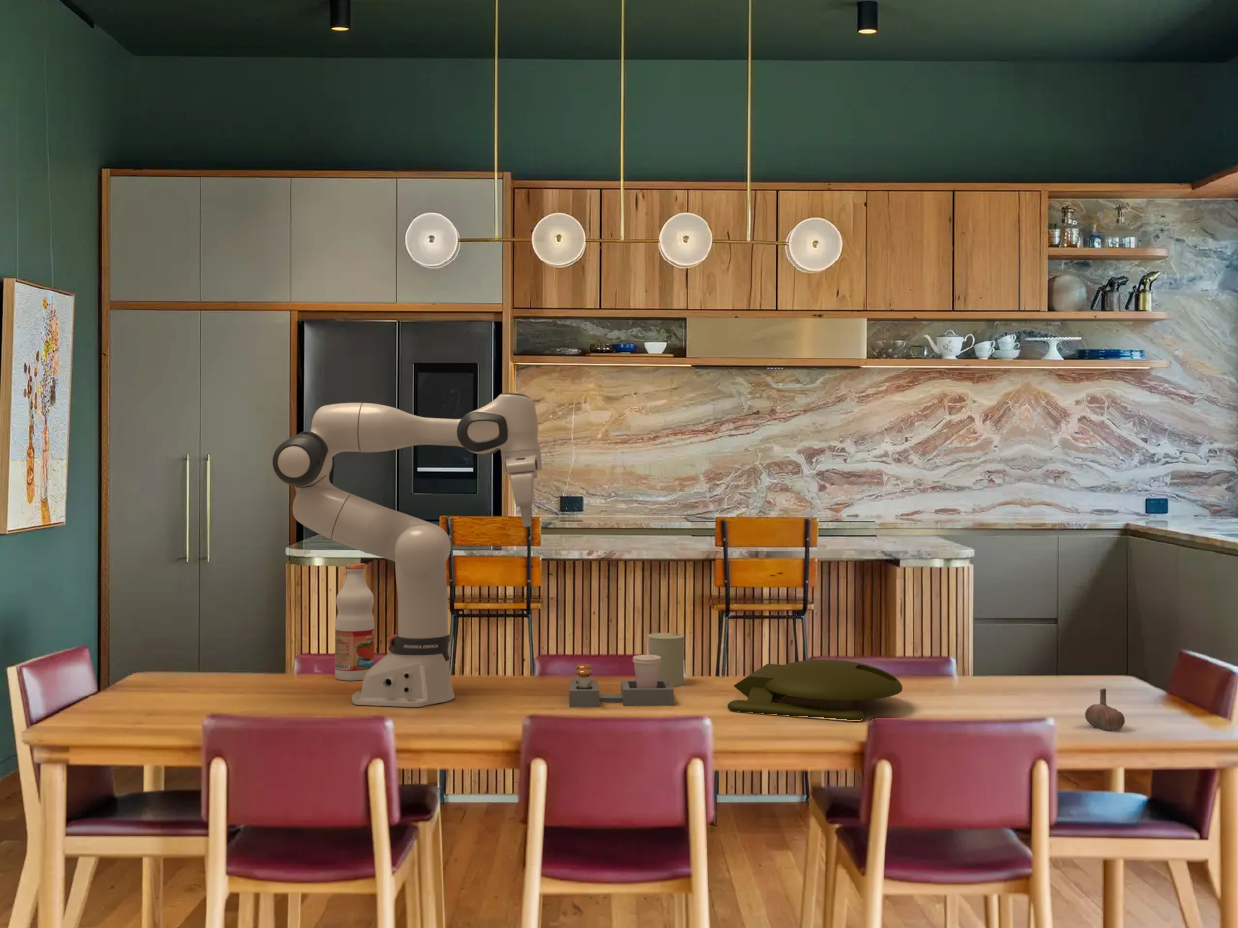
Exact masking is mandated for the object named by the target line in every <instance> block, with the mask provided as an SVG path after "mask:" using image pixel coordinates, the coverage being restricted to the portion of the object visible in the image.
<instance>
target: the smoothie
mask: <svg viewBox="0 0 1238 928" xmlns="http://www.w3.org/2000/svg"><path fill="white" fill-rule="evenodd" d="M660 662H661V657H660V656H656V655H649V638H647V637H646V654H639V655H638V654H637V655H634V656H633V657H632V663H633V664H634V674H635V680H636V683H637V688H657V680H658V672H659V664H660Z"/></svg>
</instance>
